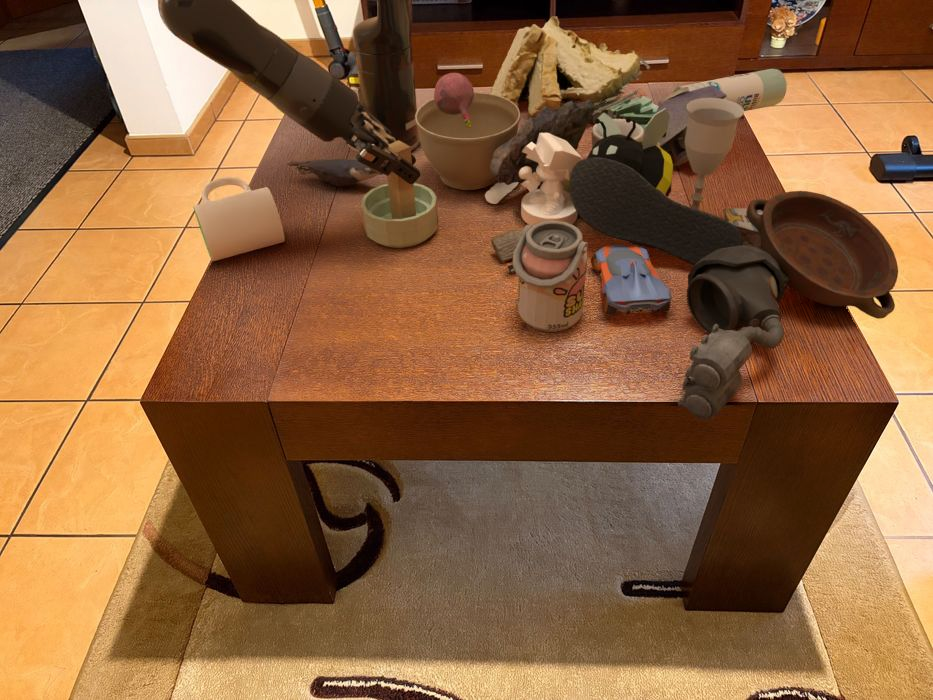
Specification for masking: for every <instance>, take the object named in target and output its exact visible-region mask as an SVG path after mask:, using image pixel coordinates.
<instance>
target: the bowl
mask: <svg viewBox="0 0 933 700" xmlns="http://www.w3.org/2000/svg"><path fill="white" fill-rule="evenodd" d="M414 195H415V206H416V216H413V217H408V218H403V219H392V215H391V206H390V197H389V188H388V183H385V184H381V185H378V186H376V187H373V188H372V189H370V190H369V191H368V192H367V193H365V194H364V195H363V196H362V198H361V201H360V211H361V218H362V225H363V230H364V232H365V235H366V236H367V238H369V239H370V240H372V241H373V242H375V243H376V244H378V245H380V246H383V247H387V248H395V249H402V248H410V247H413V246H414V247H415V246H417V245H419V244H421V243H423V242H425V241H427V240H428V239H429V238H431V237H432V236H433V235H434V234H435V232H436V231H437V230H438V225H439V216H438V213H439V212H438V198H437V196H436V194H435V192H434V190H432V189H431V188H430V187H427V186H426V185H425V184H421V183H417V182H415V183H414Z"/></svg>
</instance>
